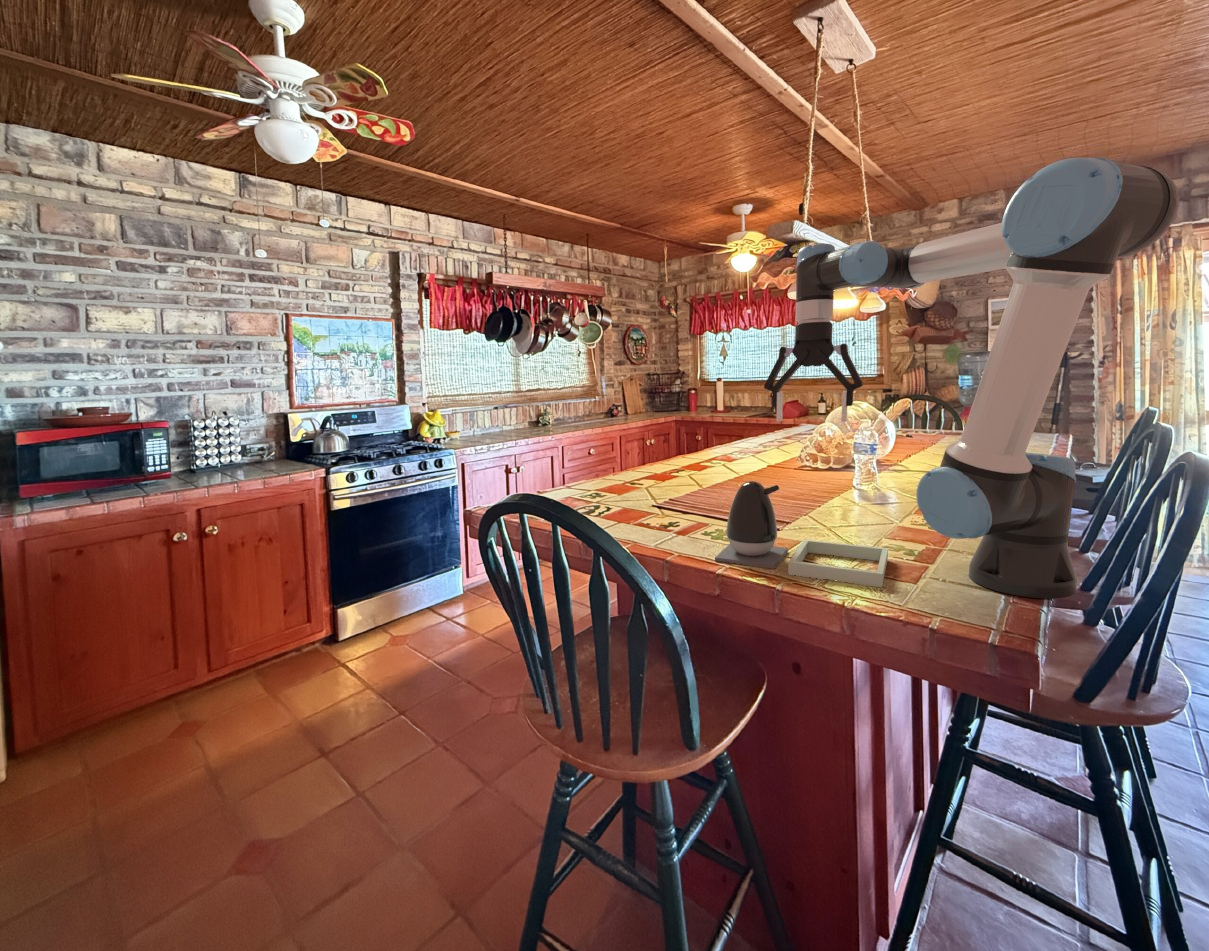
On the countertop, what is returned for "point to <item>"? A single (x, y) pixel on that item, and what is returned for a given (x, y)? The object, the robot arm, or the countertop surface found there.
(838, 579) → the gray rectangular frame
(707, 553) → the countertop surface
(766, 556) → the mat
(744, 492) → the pump dispenser
